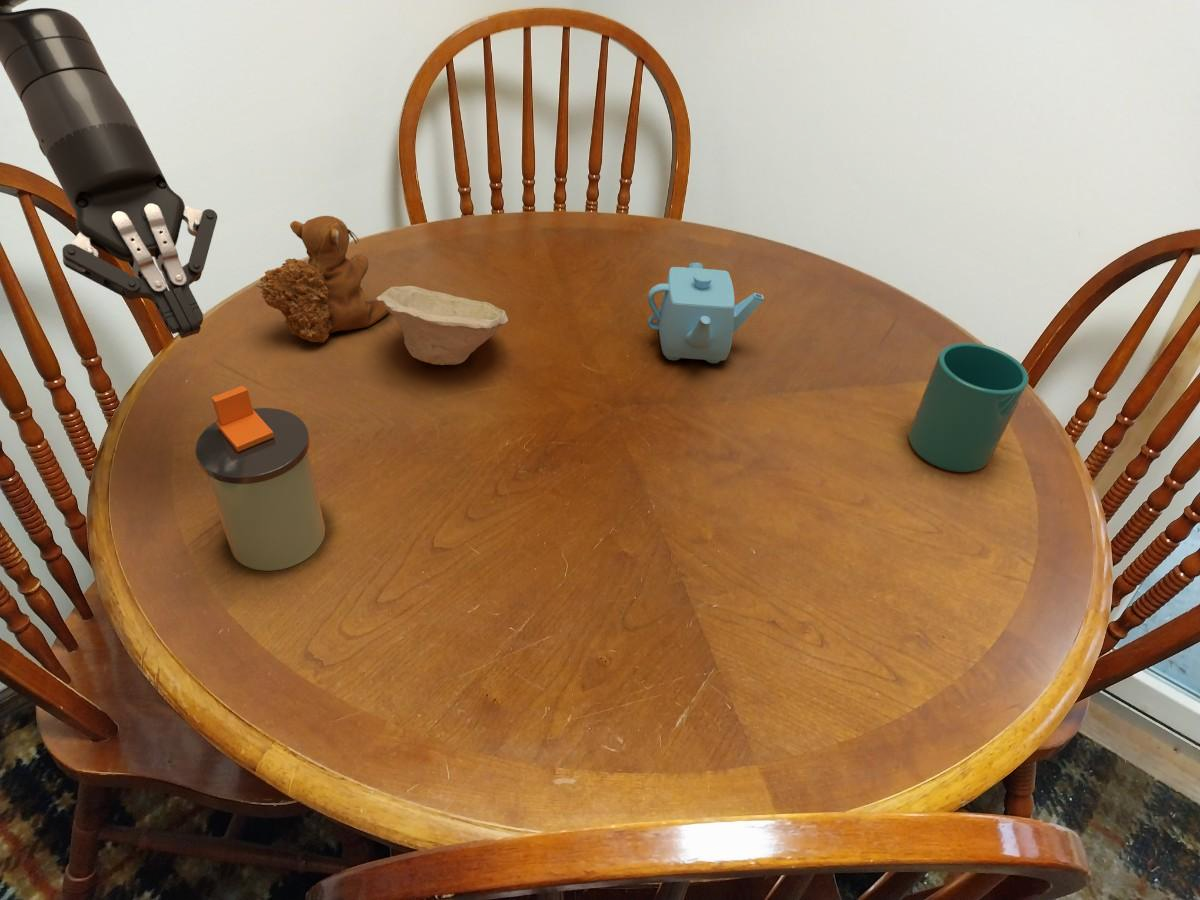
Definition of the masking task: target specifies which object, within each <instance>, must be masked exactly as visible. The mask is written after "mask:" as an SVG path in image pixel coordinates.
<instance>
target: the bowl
mask: <svg viewBox="0 0 1200 900" xmlns="http://www.w3.org/2000/svg"><path fill="white" fill-rule="evenodd" d="M376 300H377V301H378V302H380V303H382V304H383V305H384V306H385V307H386V309H387V310H388V311H389V313H390V315H392V316H393V317H394V319H395V320H396V322H397V323H398V325H399V327H400V329H401V331H402V333H403V339H404V341H403V344H404V345H405V348H406V350H407V351H408V353H409V354H410V355H411V356H412V358H414V359H416V360H418V361H421V362H424V363H428V364H432V365H440V366H444V365H446V366H447V365H448V366H449V365H450V366H451V365H452V366H455V365H460V364H462V363H464V362H466V360H467V359H468V358H469V356H470V355H471V354H472V353H473V352H475V351H476V349H478V348H479V347H480V346H481V345H483V344H484V343H485V342H486V341H488V340H489V339H491V337H493V335H495V334H496V333H497V332H499V330H500V329H501V328H502V326H504V325H506V324H508V322H509V318H508V315H507V314H506V311H505V310H503V308H502V309H501V308H499V307H497V306H495V305H493V304H492V303H490V302H486V301H479V300H474V299H470V298H467V297H462V296H461V297H460V296H455V295H452V294H448V293H445V292H441V291H437V290H436V291H435V290H429V289H426V288H423V287H419V286H415V285H405V286H404V285H403V286H391V287H389V288H388V289H387V290H385V291H384V292H382V293H381V294H380V295H378V296H377V297H376Z"/></svg>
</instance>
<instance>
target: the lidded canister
mask: <svg viewBox="0 0 1200 900" xmlns="http://www.w3.org/2000/svg"><path fill="white" fill-rule="evenodd" d="M252 409H253V410H254V411H255V412H256V413H257V414H258V416H259V417H260V418H261V419H262V420H263V421H264V422H265V423H266V425H267V426H268V427H269V428H270V429H271V430H272V431H273V433H274V437H273V438H271V439H268V440H266V441H264V442H261V443H259V444H256V445H254V446H252V447H249V448H247V449H244V450H242V451H239V452H237V450H236V449H235V448H234V447H233V446H232V444H231V443H230V442H229V441H228V440H227V438H226V437H225V436H224V435H223V434H222V432H221V431H220V430H219V429H218V427H217V424H216V422H219V421H218V419H217V420H215V421H213V423H211V424H210V425H208V426H207V427H206V428H205V429H204V430H203V431H202V433H201V434H200V435H199V436H198V438H197V440H196V443H195V450H194V452H195V453H194V454H195V458H196V462H197V464H198V467H199V468H200V469H201V471H203V472H204V473H205V475H206V479H207V482H208V484H209V485H208V486H209V487H210V491H211V494H212V497H213V500H214V503H215V506H216V508H217V509H216V510H217V512H218V515H219V518H220V521H221V524H222V528H223V530H224V533H225V537H226V539H227V542H228V545H229V548H230V552H231V554H232V556H233V558H235V560H236V561H237V562H238V563H240V564H241V565H242V566H244V567H246V568H249V569H251V570H255V571H261V572H270V571H271V572H272V571H273V572H274V571H281V570H285V569H289V568H291V567H294V566H296V565H298V564H301V563H303V562H304V561H306V560H307V559H308V558H310V557H312V556H313V555H314V554H315V553H316V552H317V551H318V550H319V548H320V547H321V545H322V543H323V541H324V538H325V535H326V525H325V522H324V517H323V512H322V507H321V502H320V498H319V494H318V489H317V484H316V480H315V474H314V470H313V465H312V461H311V457H310V451H309V448H310V443H311V441H310V440H311V439H310V435H309V434H310V433H309V429H308V427H307V425H306V423H305V422H304V420H302V419H301V418H300V417H299V416H297V415H296V414H294V413H293V412H290V411H287V410H283V409H280V408H273V407H255V408H254V407H253V408H252Z"/></svg>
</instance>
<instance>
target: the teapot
mask: <svg viewBox="0 0 1200 900" xmlns="http://www.w3.org/2000/svg"><path fill="white" fill-rule="evenodd" d="M734 290H735V289H734V286H733V281H732V278H731V275H730V273H729V272H728V271H727V270H723V269H722V270H721V269H714V268H713V269H712V268H704V264H703V263H702V262H696V261H695V262H690V263H688V266H687V267H683V266H671V267H670V269H669V272H668V275H667V278H666V281H665V282H664V283H658V284H656V285H654V286H653V287H651V288H650V290H649V291H648V294H647V301H648V305H649V308H650V310H651V311H652V313H653V314H651V315H649V316H648V318H647V326H648V327H649V328H650V329H651V330H654V331H655V330H657V331H658V333H659V341H660V346H661V351H662V354H663V356H665V358H666V359H668V360H671V361H678V360H680V359H688V360H689V359H691V360H702V361H703V360H705V362H707V363H710V364H718V363H720V362H721V361H726V360H727V359H728V356H729V354H730V352H731V348H732V343H733V337H734V334H735V333H736V332H737V331H738V329H740V327H741V326H742V325H743V324H744V323H745V322H746V320H748V318H749V317H750V316H751V315H752V314H753V313H754V312H755V311H756V310H757V309H758V308H759V306H760V305H761V304H762V303H763V302H765V301H764V300H765V298H764V294H761V293H757V292H753V293H752V294H751V295H749V296H748V297H746V298H744V299H742V300H741V301H740V302H738V303H737V304H736V303H735V302H736V301H735V291H734ZM662 292H663V293H662ZM659 293H662V297H661V302H660V308H659V307H658V306H657V303H656V302H655V298H654V297H655V295H656V294H659ZM654 320H656V322H654Z"/></svg>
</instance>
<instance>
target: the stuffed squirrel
mask: <svg viewBox="0 0 1200 900" xmlns="http://www.w3.org/2000/svg"><path fill="white" fill-rule="evenodd" d="M289 227H290V230H291V231H292V232H293V233H294V234H295V235H296V236H297V237H298V238H299V239H300V240H301V241H302V243H303V246H304V247H305V249H306V254H307V256H308V257H309V258H308V262H306V261H304V260H301V259H296V258H287V259H285V260H284V262H283V263H282V264H281V265H280V267H276V268H274V269H273V268H272V269H268V270H266V271H264V274H265V275H264V276H262V277H260V279H259V284H255V286H256V287H257V288H259V289H261V290H260V292H259V293H260V294H261V295H262V296H261V298H263V300H264V303H266V305H268V306H269V307H271V308H273V309H276V310H279V311H280V313H281V314H282V315H283V317H285V321H284V323H285V325H286V327H287V330H288V331H289V332H290V333H291V334H292V335H294V336H297V337H299V338H301V339H302V340H305V341H308V342H310V343H311V342H312V343H319V344H322V343H325V342H326V341H327V340H328V338H329V336H330V334H333V333H336V332H338V331H339V332H344V331H353V330H359V329H363V328H368V327H370V326H372V325H373V324H375V323H377V322H379V321H380V320H381V319H383V318H384V317H385V316H387V315H388V314H389V313H390V312H389V311H388V310H387V309H386V307H385V306H384V305H383V304H382V303H380V302H378V301H377V299H372V300H369V301H366V299H365V298H366V297H365V293H364V290H363V287H361V283H362V280H364V279H363V278H364V277H365V275H366V274H367V272H368V269H369V259H368V257H367V256H366V255H364V254H362V253H356V254H355V255H354V256H353V257H352V258H351V259H349V258H348V257H346V256H347V252H348V248H349V244H350V240H351V238H352V240H353V241H354V244H356V245H357V244H358V242H359V243H361V239H360V238H359V237H358V236H357V235H356V234H355V233H354V232H353V231H352V230H350V229H349V228H348V226H347V224H346V223H344V220H342V219H339V218H337V217H335V216H332V215H320V216H316V217H314V218H311V219H307V220H306V221H305V223H302V222H300V221H297V220H293V221H292V222H290V224H289Z"/></svg>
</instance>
